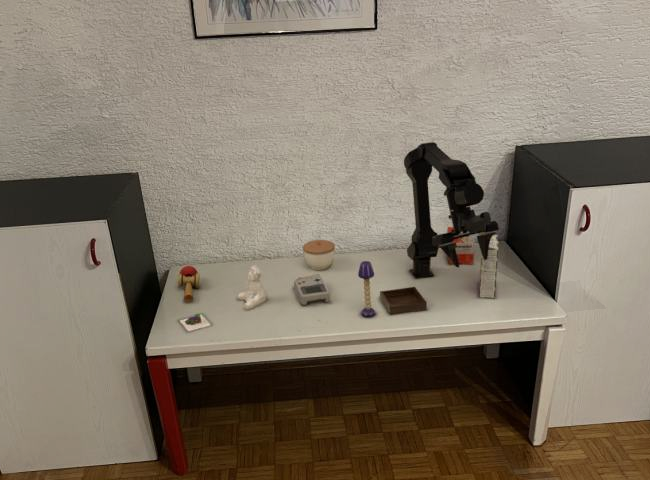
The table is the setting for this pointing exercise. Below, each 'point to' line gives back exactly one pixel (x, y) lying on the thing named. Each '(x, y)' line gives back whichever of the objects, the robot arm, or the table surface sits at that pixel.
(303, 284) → the handheld gaming device
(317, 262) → the trinket box
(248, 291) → the white creature statuette
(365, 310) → the toy lamp
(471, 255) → the medicine box
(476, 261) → the table surface
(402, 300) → the tray
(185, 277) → the kendama
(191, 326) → the puzzle cube
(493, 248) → the candy bar box
